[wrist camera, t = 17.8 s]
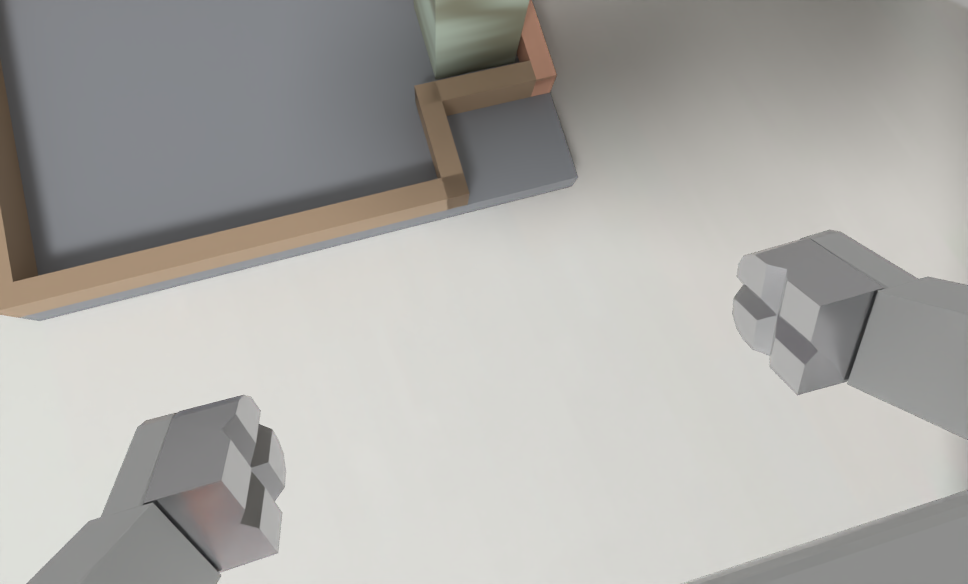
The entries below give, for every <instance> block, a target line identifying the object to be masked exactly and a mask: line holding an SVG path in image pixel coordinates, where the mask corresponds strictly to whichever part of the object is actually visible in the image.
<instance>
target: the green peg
mask: <svg viewBox="0 0 968 584" xmlns="http://www.w3.org/2000/svg"><path fill="white" fill-rule="evenodd" d="M528 4H529V0H414V9H415V12H416V16H417V19H418V22H419V26H420V29H421V32H422V36H423V39H424V42H425V46H426V49H427V52H428V56H429V59H430V62H431V66H432V69H433V72H434V76H435V79H441V78H445V77H450V76H455V75H459V74H464V73H468V72H473V71H478V70H482V69H487V68H491V67H496V66H501V65H505V64H510V63H514V62H515V58H516V54H517V50H518V45H519V41H520V37H521V33H522V29H523V25H524V21H525V17H526V13H527V8H528Z"/></svg>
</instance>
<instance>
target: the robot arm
mask: <svg viewBox="0 0 968 584" xmlns="http://www.w3.org/2000/svg"><path fill="white" fill-rule="evenodd" d="M737 278H738V279H739V280H740V281H741V282H742V283H743V286H742V287H741V289H740V290H739V291H738V293H737V294H736V295H735V297H734V300H733V311H732V314H733V318H734V321H735V325H736V329H737V330H738V332H739V334H740V335H741V337H742V339H743V340H744V341H745V342H746V343H747V344H748V345H749V346H750V347H751V348H752V349H753V350H756V351H758V352H761V353H764V354H766V355H769V356H770V368H771V369H772V370H773V371H774V372H775V373H776V374H777V375H778V376H779V377H780V378H781V379H782V380H783V381H784V382H785V383H786V384H787V385H788V386H789V387H790V388H791V389H792V390H793V391H794V392H795V393H796V394H797V395H800V394H803V393H807V392H811V391H814V390H818V389H821V388H825V387H829V386H832V385H836V384H840V383H843V382H847V381H848V383H847V384H848V385H850V386H852V387H854V388H857V389H859V390H861V391H863V392H865V393H867V394H870V395H872V396H874V397H876V398H878V399H880V400H882V401H885V402H887V403H889V404H891V405H893V406H895V407H898V408H900V409H902V410H904V411H906V412H908V413H911V414H913V415H915V416H917V417H919V418H921V419H924V420H926V421H928V422H930V423H932V424H934V425H937V426H939V427H941V428H943V429H945V430H947V431H950V432H952V433H954V434H956V435H958V436H960V437H963V438H965V439H967V440H968V285H965V284H960V283H955V282H951V281H946V280H941V279H937V278H932V277H925V278H921V279H918V278H916V277H914V276H913V275H911V274H910V273H908V272H906V271H905V270H903V269H901V268H900V267H898V266H896V265H895V264H893V263H891V262H890V261H888V260H886V259H885V258H883V257H881V256H880V255H878V254H876V253H875V252H873V251H872V250H870V249H868V248H867V247H865V246H863V245H862V244H860V243H858V242H857V241H855V240H853V239H852V238H850V237H848V236H847V235H845V234H843V233H842V232H839V231H834V230H827V231H824V232H820V233H817V234H814V235H810V236H807V237H804V238H801V239H800V240H796V241H792V242H789V243H786V244H782V245H779V246H775V247H772V248H768V249H765V250H761V251H758V252H754V253H751V254H747V255H744V256H743V257H742V259H741V261H740V262H739V264H738V270H737ZM260 412H261V410H260V409H259V408H258V406H257V405H256V403H255V402H254V400H253V399H252V397H250V396H246V395H241V396H237V397H234V398H230V399H226V400H222V401H218V402H214V403H210V404H206V405H202V406H198V407H194V408H191V409H187V410H183V411H179V412H178V413H173V414H169V415H165V416H162V417H158V418H154V419H150V420H146V421H145V422H143V423H142V424H141V425H140V426H139V427H137V429H136V432H135V434H134V436H133V439H132V441H131V444H130V446H129V449H128V451H127V454H126V456H125V459H124V461H123V463H122V466H121V468H120V471H119V473H118V476H117V478H116V481H115V483H114V486H113V488H112V490H111V493H110V495H109V498H108V500H107V503H106V505H105V508H104V510H103V513H102V515H101V517H100V518H97V519H94V520H91V521H89V522H88V523H87V524H86V525H85V526H84V527H83V528H82V529H81V530H80V531H79V532H78V533H77V534H76V535H75V536H74V537H73V538H72V539H71V540H70V541H69V542H68V543H67V544H66V545H65V546H64V547H63V548H62V549H61V550H60V551H59V552H58V553H57V554H56V555H55V556H54V557H53V558H52V559H51V560H50V561H49V562H48V563H47V564H46V565H45V566H44V567H43V568H42V569H41V570H40V571H39V572H38V573H37V574H36V575H35V576H34V577H33V578H32V579H31V580H30V581H29V582H28V583H27V584H217V582H218V580H219V579H220V577H221V574H220V572H223V571H226V570H229V569H232V568H235V567H238V566H241V565H244V564H247V563H250V562H253V561H256V560H259V559H262V558H265V557H268V556H271V555H274V554H277V553H278V550H279V540H280V530H281V521H282V511H281V510H280V509H279V507H278V506H277V504H276V503H275V500H276V499H277V497H278V496H279V494H280V493H281V492H282V490H283V489H284V487H285V477H286V468H285V461H284V453H283V450H282V448H281V445H280V442H279V440H278V438H277V436H276V435H275V433H274V431H273V430H272V429H270V428H267V427H265V426H263V425H260V424H259V419H260ZM682 584H968V490H965V491H962V492H959V493H956V494H953V495H950V496H947V497H944V498H941V499H938V500H935V501H932V502H929V503H926V504H923V505H920V506H917V507H914V508H911V509H907V510H904V511H901V512H898V513H895V514H892V515H889V516H886V517H883V518H880V519H877V520H874V521H871V522H868V523H865V524H862V525H859V526H856V527H853V528H850V529H847V530H844V531H840V532H837V533H834V534H831V535H828V536H825V537H822V538H819V539H816V540H813V541H810V542H807V543H804V544H801V545H798V546H795V547H792V548H789V549H786V550H783V551H780V552H777V553H773V554H770V555H767V556H764V557H761V558H758V559H755V560H752V561H749V562H746V563H743V564H740V565H737V566H734V567H731V568H728V569H725V570H722V571H719V572H716V573H713V574H710V575H706V576H703V577H700V578H697V579H694V580H691V581H688V582H685V583H682Z"/></svg>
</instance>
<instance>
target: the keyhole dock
mask: <svg viewBox="0 0 968 584" xmlns="http://www.w3.org/2000/svg"><path fill="white" fill-rule="evenodd" d="M556 76H557V74H556V71H555V68H554V65H553V62H552V59H551V56H550V53H549V50H548V47H547V44H546V41H545V38H544V35H543V32H542V29H541V26H540V23H539V20H538V17H537V14H536V11H535V8H534V5H533V2H532V0H529V4H528V8H527V13H526V17H525V21H524V25H523V29H522V33H521V37H520V41H519V45H518V50H517V54H516V58H515V62H514V63H510V64H505V65H501V66H496V67H491V68H487V69H482V70H478V71H473V72H468V73H464V74H459V75H455V76H450V77H445V78H441V79H435V76H434V72H433V69H432V66H431V62H430V59H429V56H428V52H427V49H426V46H425V42H424V39H423V36H422V32H421V29H420V26H419V22H418V19H417V16H416V12H415V9H414V0H0V315H6V316H12V317H18V318H25V319H31V320H37V321H41V320H45V319H49V318H53V317H57V316H61V315H65V314H69V313H73V312H77V311H81V310H85V309H89V308H93V307H97V306H101V305H105V304H109V303H113V302H116V301H120V300H124V299H128V298H132V297H136V296H140V295H144V294H148V293H152V292H156V291H160V290H164V289H168V288H172V287H176V286H180V285H184V284H187V283H191V282H195V281H199V280H203V279H207V278H211V277H215V276H219V275H223V274H227V273H231V272H235V271H239V270H243V269H247V268H251V267H255V266H259V265H262V264H266V263H270V262H274V261H278V260H282V259H286V258H290V257H294V256H298V255H302V254H306V253H310V252H314V251H318V250H322V249H326V248H330V247H334V246H337V245H341V244H345V243H349V242H353V241H357V240H361V239H365V238H369V237H373V236H377V235H381V234H385V233H389V232H393V231H397V230H401V229H405V228H409V227H412V226H416V225H420V224H424V223H428V222H432V221H436V220H440V219H444V218H448V217H452V216H456V215H460V214H464V213H468V212H472V211H476V210H480V209H484V208H487V207H491V206H495V205H499V204H503V203H507V202H511V201H515V200H519V199H523V198H527V197H531V196H535V195H539V194H543V193H547V192H551V191H555V190H559V189H562V188H566V187H570V186H572V185H573V184H574V182H575V181H576V179H577V178H578V176H577V172H576V169H575V166H574V163H573V160H572V157H571V154H570V151H569V148H568V145H567V142H566V139H565V136H564V133H563V130H562V127H561V124H560V121H559V118H558V115H557V112H556V109H555V106H554V103H553V100H552V97H551V94H550V91H551V89H552V86H553V84H554V81H555V79H556Z"/></svg>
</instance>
